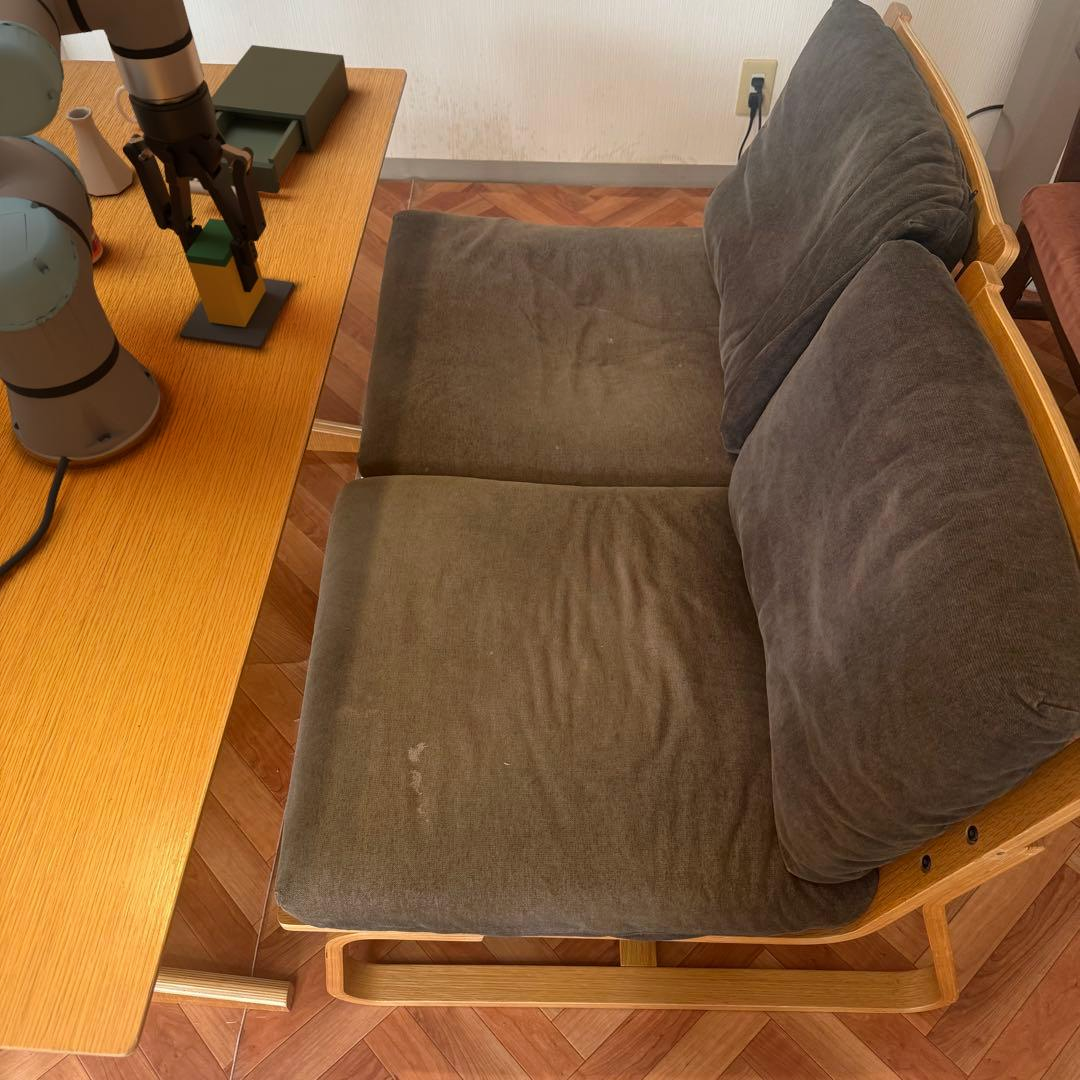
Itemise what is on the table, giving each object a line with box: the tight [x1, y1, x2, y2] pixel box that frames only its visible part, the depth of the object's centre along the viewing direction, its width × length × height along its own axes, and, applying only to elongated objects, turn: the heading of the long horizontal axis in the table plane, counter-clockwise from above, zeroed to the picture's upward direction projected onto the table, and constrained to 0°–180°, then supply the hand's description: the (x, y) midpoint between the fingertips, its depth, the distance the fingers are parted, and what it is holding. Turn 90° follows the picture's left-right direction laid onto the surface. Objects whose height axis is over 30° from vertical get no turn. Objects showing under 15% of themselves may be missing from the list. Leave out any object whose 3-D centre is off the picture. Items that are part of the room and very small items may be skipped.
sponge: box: [185, 217, 266, 327], centre depth 105 cm, size 7×4×10 cm, turn 170°
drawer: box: [189, 110, 304, 199], centre depth 124 cm, size 22×13×4 cm, turn 170°
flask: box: [65, 106, 134, 197], centre depth 120 cm, size 7×7×10 cm
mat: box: [179, 277, 296, 350], centre depth 109 cm, size 12×10×1 cm
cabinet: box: [211, 44, 350, 153], centre depth 133 cm, size 18×15×6 cm
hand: (230, 281), depth 106 cm, fingers closed on sponge, 4 cm apart
